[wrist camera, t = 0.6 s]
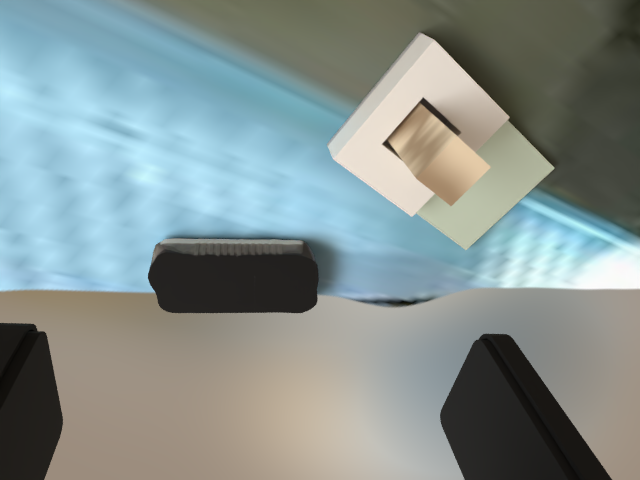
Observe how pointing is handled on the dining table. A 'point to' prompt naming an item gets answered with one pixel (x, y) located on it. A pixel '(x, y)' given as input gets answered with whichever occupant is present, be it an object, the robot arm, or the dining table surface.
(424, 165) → the plug
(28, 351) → the robot arm
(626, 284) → the dining table surface
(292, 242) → the black sponge
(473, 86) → the socket block
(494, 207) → the mat
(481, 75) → the dining table surface
